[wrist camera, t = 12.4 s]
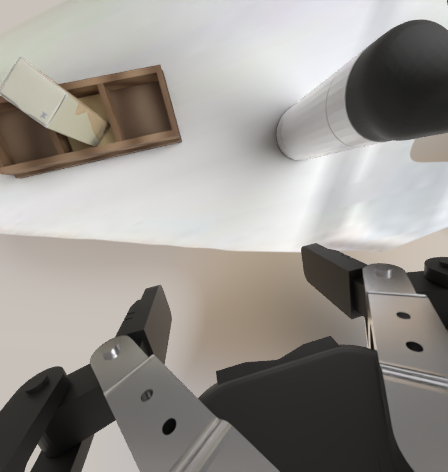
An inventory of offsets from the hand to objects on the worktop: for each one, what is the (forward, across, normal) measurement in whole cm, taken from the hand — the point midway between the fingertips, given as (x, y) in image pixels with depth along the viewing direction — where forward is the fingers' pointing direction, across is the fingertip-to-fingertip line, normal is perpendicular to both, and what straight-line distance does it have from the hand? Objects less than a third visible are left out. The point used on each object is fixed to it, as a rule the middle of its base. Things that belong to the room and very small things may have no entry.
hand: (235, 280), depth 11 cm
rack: (+28, +14, -18) cm, 36 cm away
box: (+27, +14, -17) cm, 35 cm away
